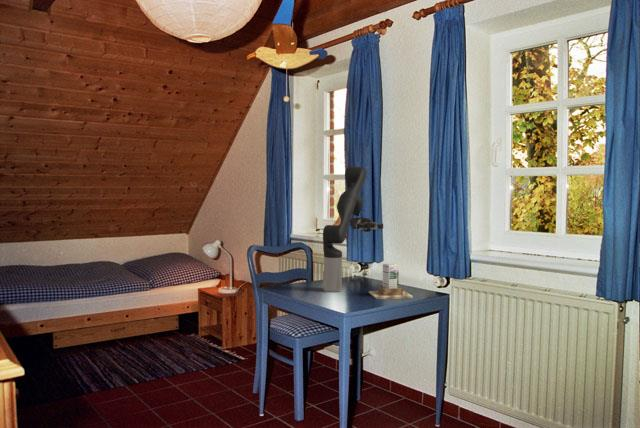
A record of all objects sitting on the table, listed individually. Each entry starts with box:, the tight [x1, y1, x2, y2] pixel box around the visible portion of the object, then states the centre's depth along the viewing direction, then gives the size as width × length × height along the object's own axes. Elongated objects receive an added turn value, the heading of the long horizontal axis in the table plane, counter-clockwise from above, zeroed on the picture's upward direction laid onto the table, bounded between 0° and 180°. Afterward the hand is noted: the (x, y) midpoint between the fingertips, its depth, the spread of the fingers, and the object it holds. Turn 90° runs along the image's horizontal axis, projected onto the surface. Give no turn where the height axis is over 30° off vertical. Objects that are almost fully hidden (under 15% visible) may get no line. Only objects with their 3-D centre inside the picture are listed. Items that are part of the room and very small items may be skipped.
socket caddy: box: [368, 284, 414, 300], centre depth 265 cm, size 18×14×4 cm
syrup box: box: [382, 262, 400, 289], centre depth 265 cm, size 6×6×14 cm
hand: (372, 226), depth 284 cm, fingers open, 8 cm apart
